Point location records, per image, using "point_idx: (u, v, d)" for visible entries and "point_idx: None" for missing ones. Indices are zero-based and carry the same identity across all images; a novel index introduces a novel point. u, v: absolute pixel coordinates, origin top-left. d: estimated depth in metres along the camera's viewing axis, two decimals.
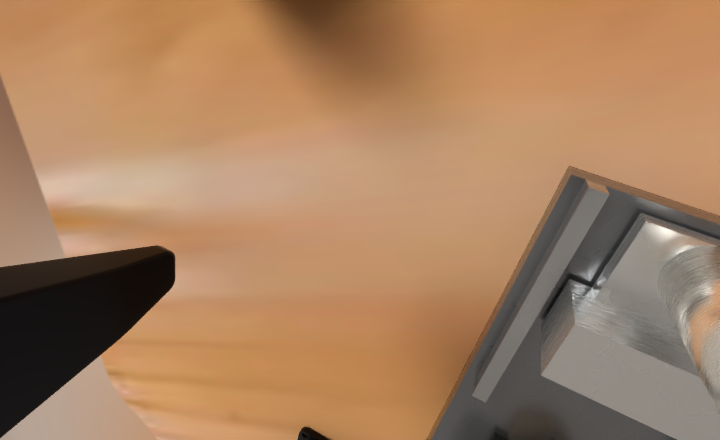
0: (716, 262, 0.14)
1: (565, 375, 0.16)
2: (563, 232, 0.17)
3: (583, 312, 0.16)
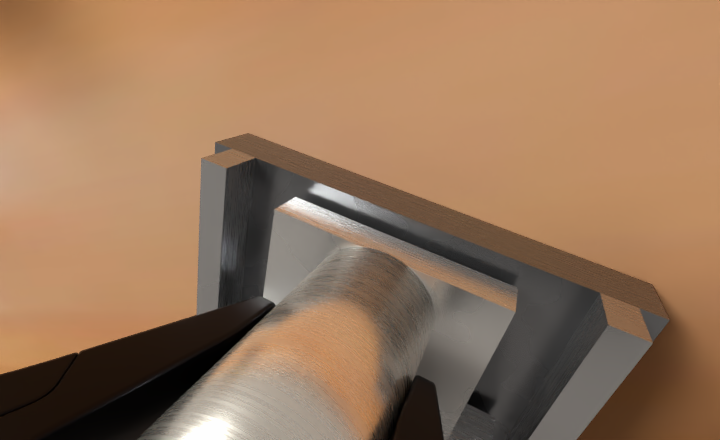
0: (320, 275, 0.08)
1: None
2: (200, 228, 0.11)
3: None
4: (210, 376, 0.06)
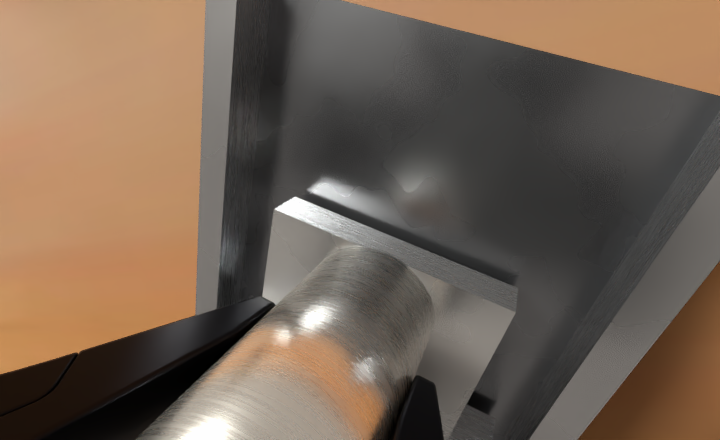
0: (320, 275, 0.08)
1: None
2: (205, 73, 0.09)
3: None
4: (209, 376, 0.06)
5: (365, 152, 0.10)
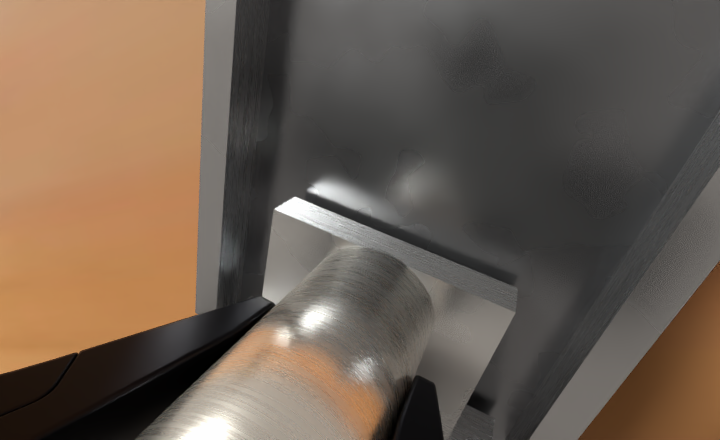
0: (319, 275, 0.08)
1: None
2: None
3: None
4: (208, 376, 0.06)
5: None
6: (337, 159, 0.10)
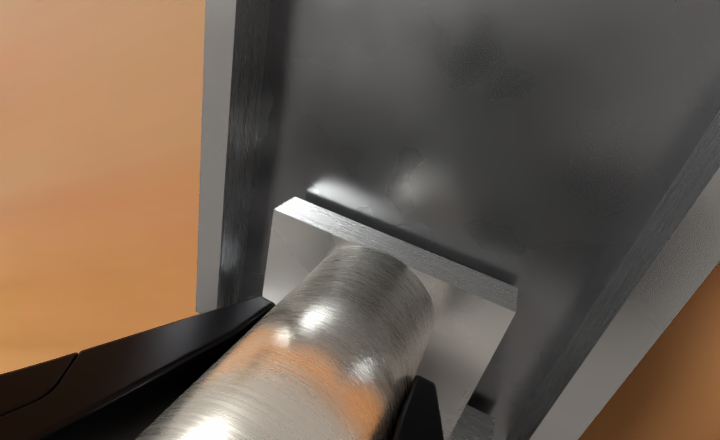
0: (319, 275, 0.08)
1: None
2: None
3: None
4: (208, 376, 0.06)
5: None
6: (337, 157, 0.10)
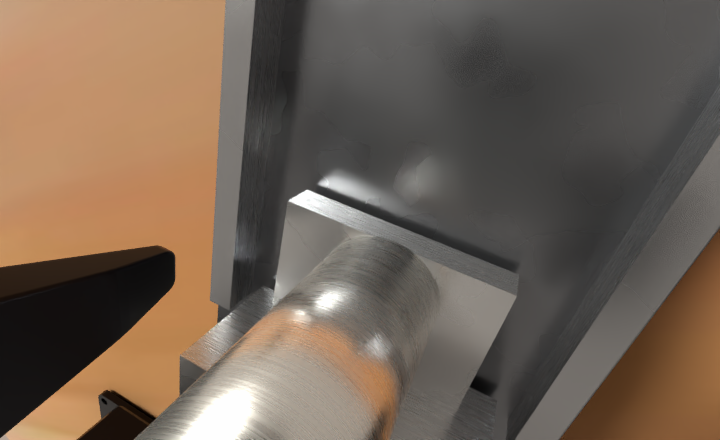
0: (333, 261, 0.09)
1: None
2: None
3: (222, 336, 0.11)
4: (237, 348, 0.06)
5: None
6: (348, 151, 0.10)
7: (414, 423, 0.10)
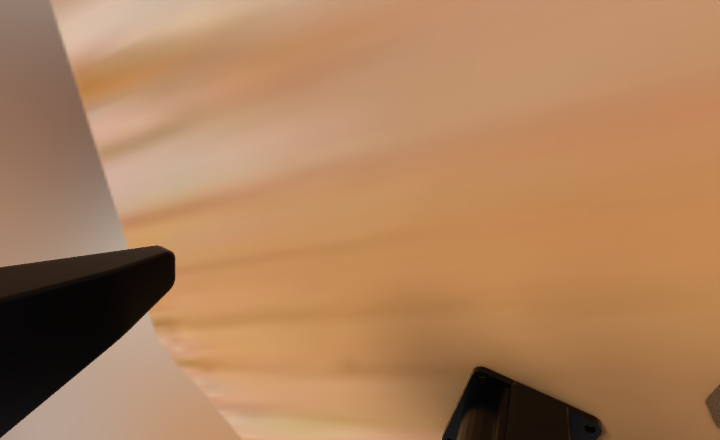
0: None
1: None
2: None
3: None
4: None
5: None
6: None
7: None
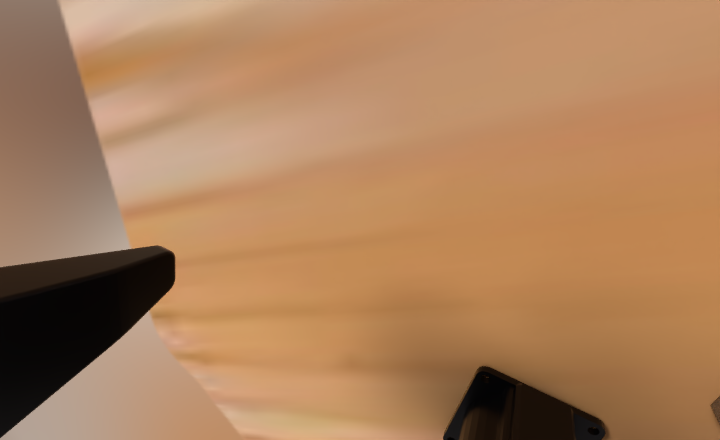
0: None
1: None
2: None
3: None
4: None
5: None
6: None
7: None
